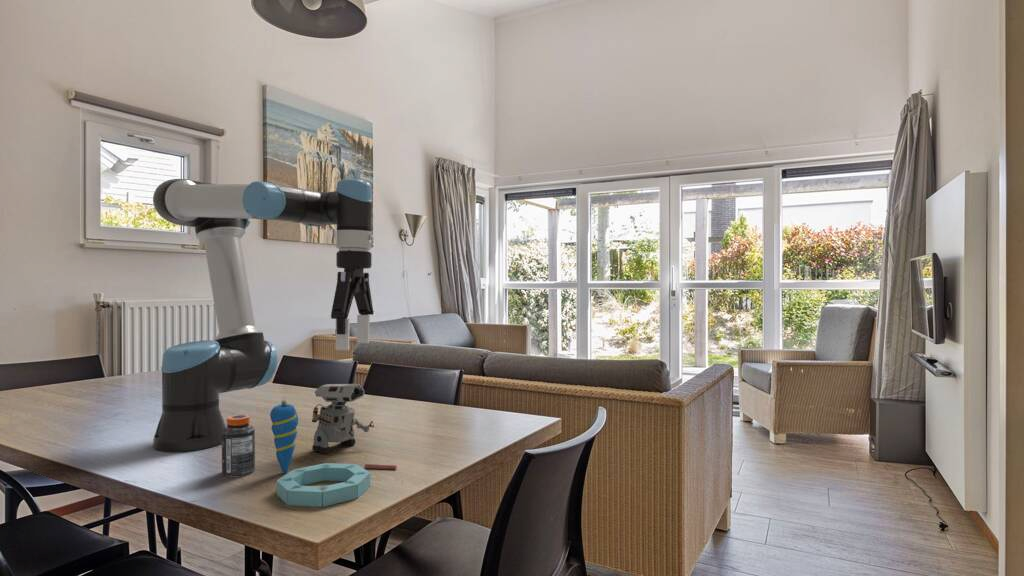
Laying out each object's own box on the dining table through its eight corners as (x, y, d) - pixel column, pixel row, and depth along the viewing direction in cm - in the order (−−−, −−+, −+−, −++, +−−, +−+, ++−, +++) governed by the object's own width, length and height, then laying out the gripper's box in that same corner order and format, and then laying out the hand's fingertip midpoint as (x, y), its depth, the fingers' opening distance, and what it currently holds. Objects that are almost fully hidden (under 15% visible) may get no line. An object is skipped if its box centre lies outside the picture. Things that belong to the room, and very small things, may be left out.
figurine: (343, 459, 124) (343, 389, 123) (307, 450, 129) (307, 384, 129) (374, 448, 131) (374, 383, 131) (338, 441, 137) (338, 378, 137)
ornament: (281, 479, 111) (281, 401, 110) (264, 474, 113) (264, 398, 113) (303, 471, 115) (303, 396, 115) (287, 467, 118) (287, 394, 118)
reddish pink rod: (363, 468, 117) (363, 464, 117) (365, 467, 118) (365, 463, 118) (396, 469, 116) (396, 465, 116) (397, 468, 117) (397, 464, 117)
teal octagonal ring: (263, 504, 98) (263, 489, 98) (304, 474, 113) (304, 462, 113) (347, 508, 97) (347, 493, 97) (378, 478, 111) (378, 465, 111)
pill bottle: (229, 468, 117) (229, 413, 117) (259, 467, 117) (259, 412, 117) (216, 478, 111) (216, 420, 111) (248, 477, 111) (248, 419, 111)
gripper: (351, 247, 115) (350, 353, 115) (386, 253, 140) (385, 340, 140) (314, 247, 115) (314, 352, 116) (356, 253, 140) (355, 339, 141)
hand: (353, 346), depth 128 cm, fingers open, 13 cm apart
